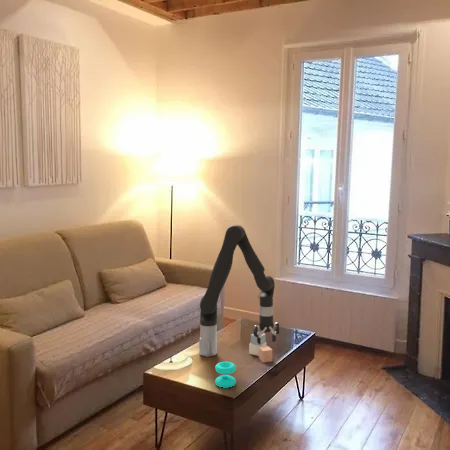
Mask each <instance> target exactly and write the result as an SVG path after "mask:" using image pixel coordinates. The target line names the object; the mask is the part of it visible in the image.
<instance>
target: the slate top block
mask: <svg viewBox="0 0 450 450" xmlns="http://www.w3.org/2000/svg"><path fill="white" fill-rule="evenodd" d="M257 334H258V332H257ZM266 335H267V334H266V333H263V334H262V335H261V337H260V338H261V344H258V343H257V337H255V336H254V335H253V333H252V334H250V343H251V344H255V345H259V346H260V345H262V344H264V343H265V342H266Z"/></svg>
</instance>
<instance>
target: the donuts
mask: <svg viewBox="0 0 450 450" xmlns="http://www.w3.org/2000/svg"><path fill="white" fill-rule="evenodd" d="M214 368H215V369H214V370H215V371H216V372H217V373H218V374H220V375H219V376H217V377H216V378H215V381H214V383H215V385H216V386H217V387H218V386H219V388H221V387H223V388H222V389H230V388H229V387H231V388H233V387H234V386H236V384H237V380H236V378H235V377H234V376H232V375H231V374H234V373H235V371H236V370H237V366H236V364H235V363H233V362H231V361H220V362H218V363H216V365H215V366H214ZM232 386H233V387H232Z"/></svg>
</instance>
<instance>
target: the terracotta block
mask: <svg viewBox="0 0 450 450" xmlns="http://www.w3.org/2000/svg"><path fill="white" fill-rule="evenodd" d="M273 351H274V350H273V349H272V348H271V347H270V346H268V345H266V347H259V356H258V359H259V360H260V362H262V363H268V362H273Z"/></svg>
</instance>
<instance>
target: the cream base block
mask: <svg viewBox="0 0 450 450" xmlns="http://www.w3.org/2000/svg"><path fill="white" fill-rule="evenodd" d="M248 346H249V347H248V354H249V355H253V356H256V357H257V356H258V357H259V347H266V346H267V342H266V341H265V343H264V344H262V345H260V346H259V345H255V344H251V342H250V343H249V344H248Z"/></svg>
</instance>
